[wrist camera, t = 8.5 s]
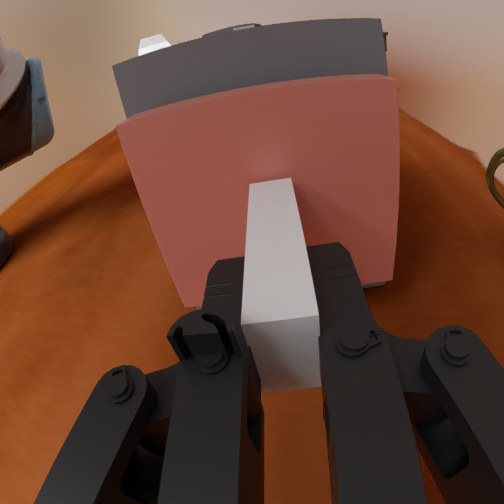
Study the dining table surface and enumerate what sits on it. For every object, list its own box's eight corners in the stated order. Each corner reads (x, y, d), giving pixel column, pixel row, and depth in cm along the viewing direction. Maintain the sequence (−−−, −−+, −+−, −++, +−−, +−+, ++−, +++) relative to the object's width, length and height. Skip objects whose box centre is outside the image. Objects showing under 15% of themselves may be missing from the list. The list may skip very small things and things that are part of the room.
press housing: (385, 284, 19) (379, 12, 10) (196, 309, 20) (110, 60, 12) (345, 197, 29) (326, 27, 20) (216, 216, 30) (174, 53, 21)
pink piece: (392, 279, 14) (396, 79, 9) (184, 307, 15) (115, 126, 10) (335, 168, 26) (322, 61, 20) (216, 186, 27) (190, 83, 22)
